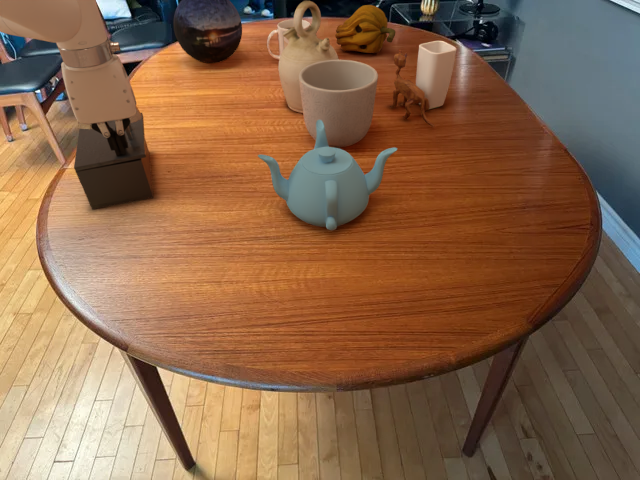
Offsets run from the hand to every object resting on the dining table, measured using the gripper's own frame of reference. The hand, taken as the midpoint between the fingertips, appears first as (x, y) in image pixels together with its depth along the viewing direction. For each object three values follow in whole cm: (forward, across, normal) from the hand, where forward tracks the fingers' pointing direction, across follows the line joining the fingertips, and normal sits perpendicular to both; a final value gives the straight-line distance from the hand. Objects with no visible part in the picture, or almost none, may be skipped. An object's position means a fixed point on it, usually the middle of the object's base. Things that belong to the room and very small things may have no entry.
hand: (121, 151), depth 88 cm
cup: (+10, -74, -16) cm, 76 cm away
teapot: (+10, -36, +15) cm, 40 cm away
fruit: (+10, -73, -57) cm, 93 cm away
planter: (+10, -46, -8) cm, 48 cm away
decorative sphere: (+10, -25, -66) cm, 71 cm away
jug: (+10, -45, -27) cm, 53 cm away
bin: (+10, +2, -6) cm, 12 cm away
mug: (+10, -48, -57) cm, 75 cm away
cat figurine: (+10, -67, -12) cm, 69 cm away
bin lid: (+1, +2, -7) cm, 7 cm away
